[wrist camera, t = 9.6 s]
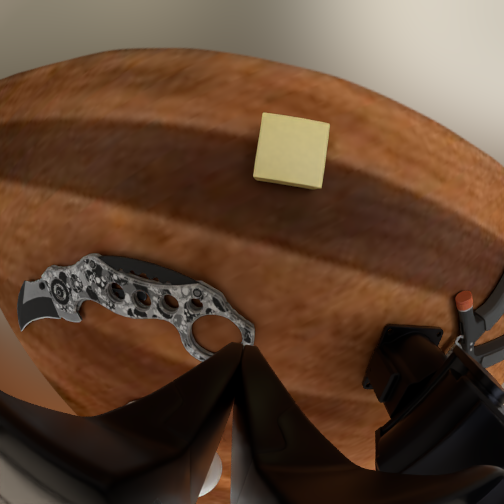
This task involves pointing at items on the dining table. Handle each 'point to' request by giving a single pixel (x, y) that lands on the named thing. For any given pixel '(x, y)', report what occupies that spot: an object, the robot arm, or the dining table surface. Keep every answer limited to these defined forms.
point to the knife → (127, 296)
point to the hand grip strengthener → (480, 326)
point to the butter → (291, 151)
